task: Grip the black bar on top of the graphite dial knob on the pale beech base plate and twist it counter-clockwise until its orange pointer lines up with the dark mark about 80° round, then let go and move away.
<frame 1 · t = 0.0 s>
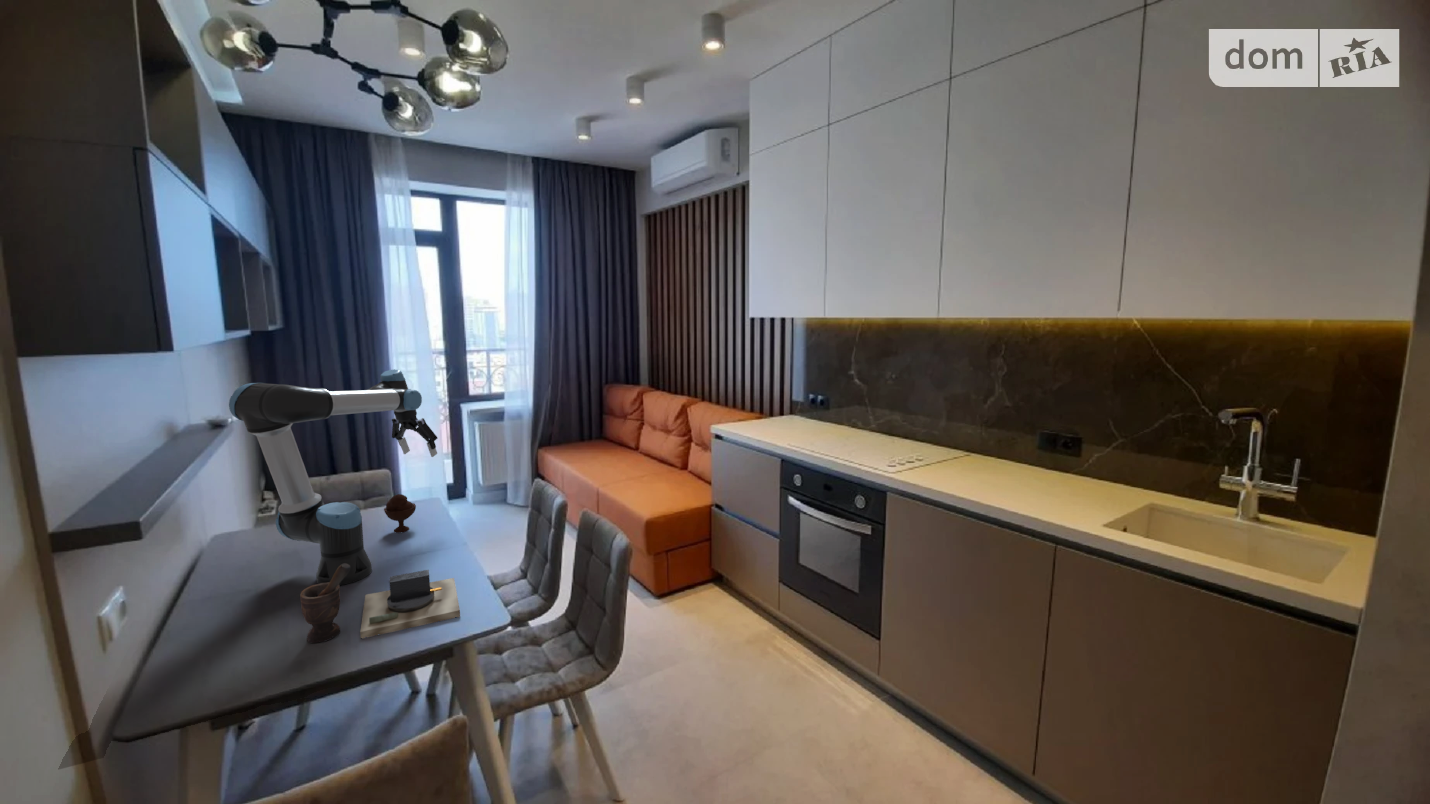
hand: (420, 453, 228), 28 cm above the table, tool tilted 20°, fingers open, 13 cm apart
base plate: (412, 608, 163), on the table
ice cream bowl: (401, 530, 220), on the table
dial knob: (414, 588, 162), point 6 cm above the table, hinge at 0.0°
mortar and pestle: (331, 635, 150), on the table
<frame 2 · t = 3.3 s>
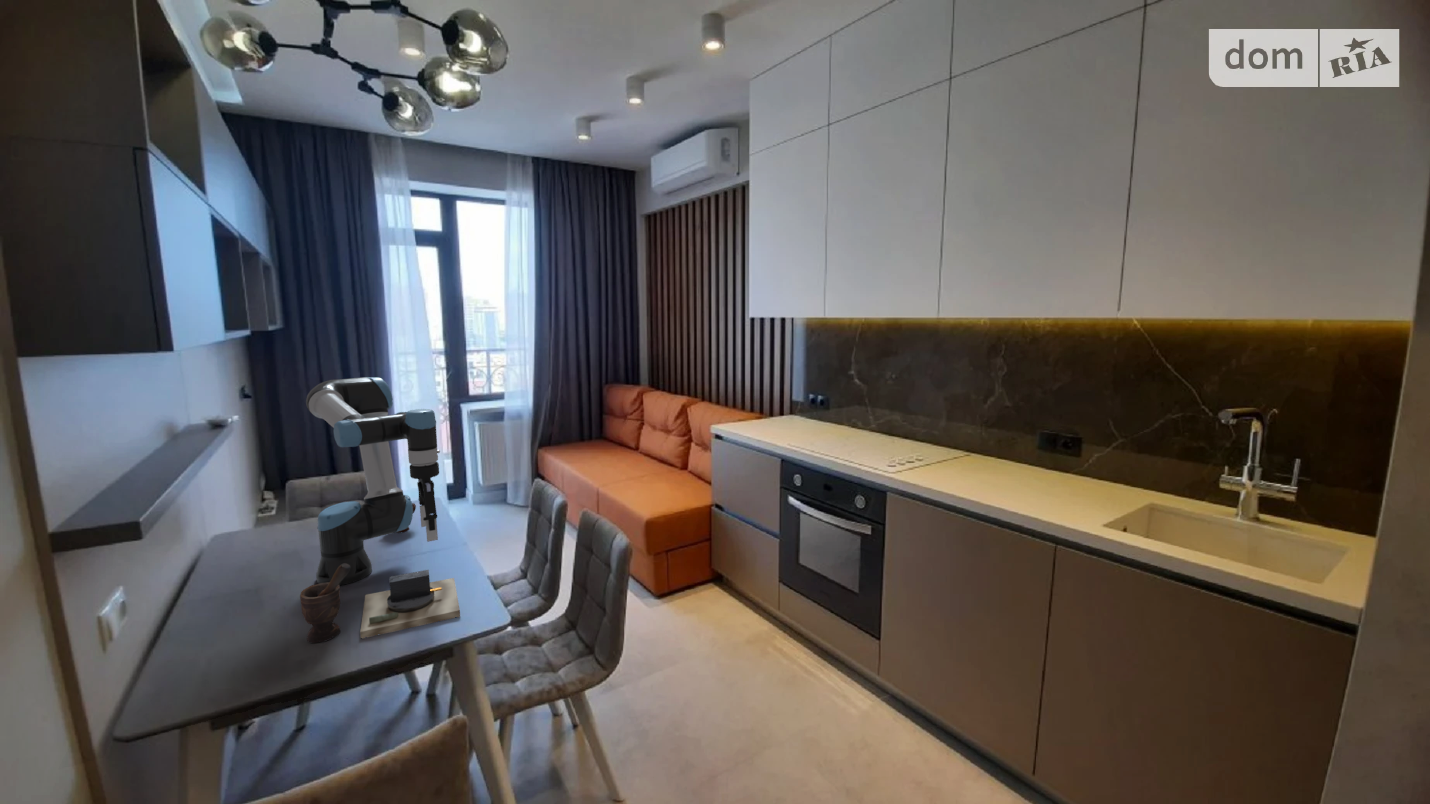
hand: (429, 533, 165), 21 cm above the table, tool pointing down, fingers open, 13 cm apart
nothing on the table moved.
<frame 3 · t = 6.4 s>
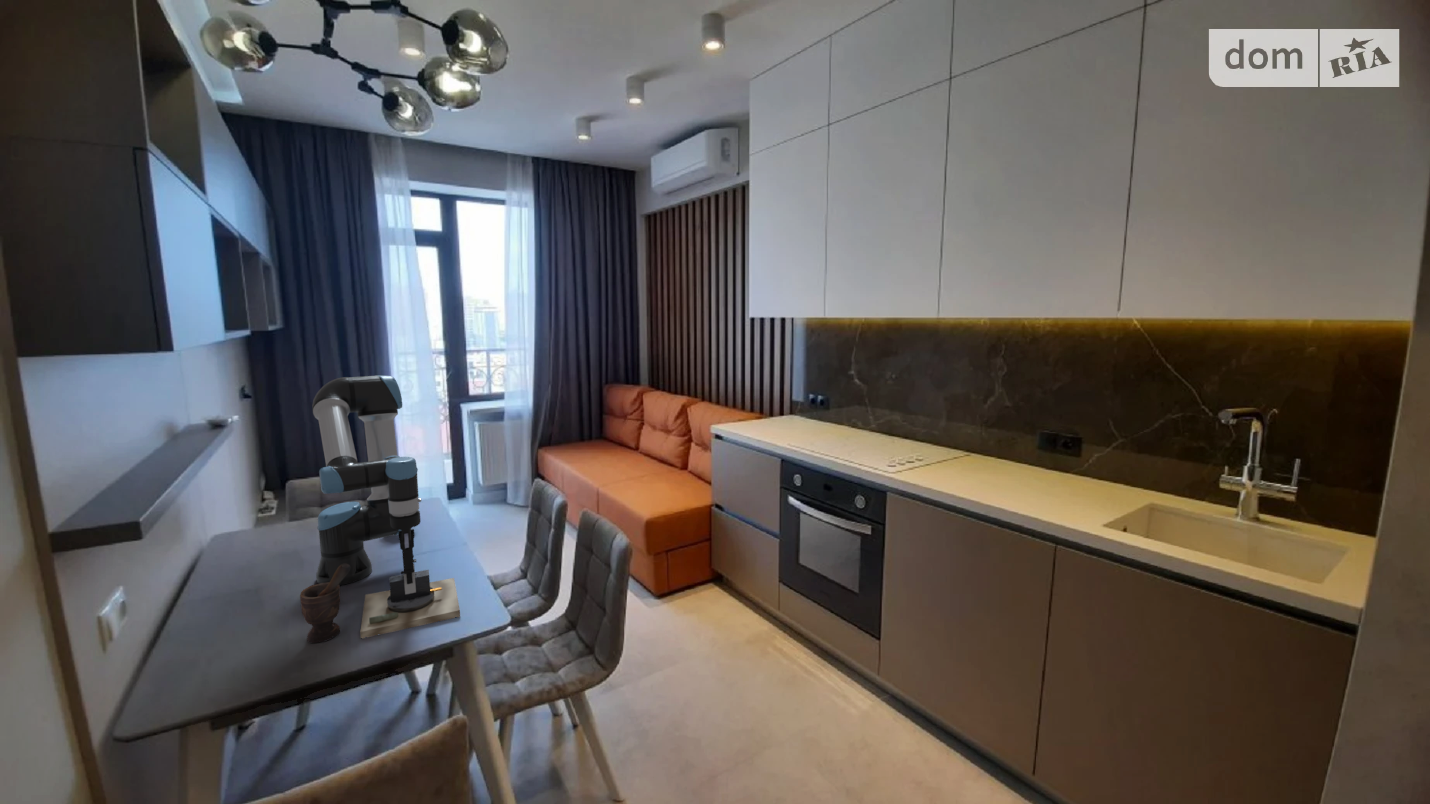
hand: (410, 589, 162), 6 cm above the table, tool pointing down, fingers closed on dial knob, 4 cm apart
dial knob: (414, 588, 162), point 6 cm above the table, hinge at 0.0°, touching gripper
everything else where it was.
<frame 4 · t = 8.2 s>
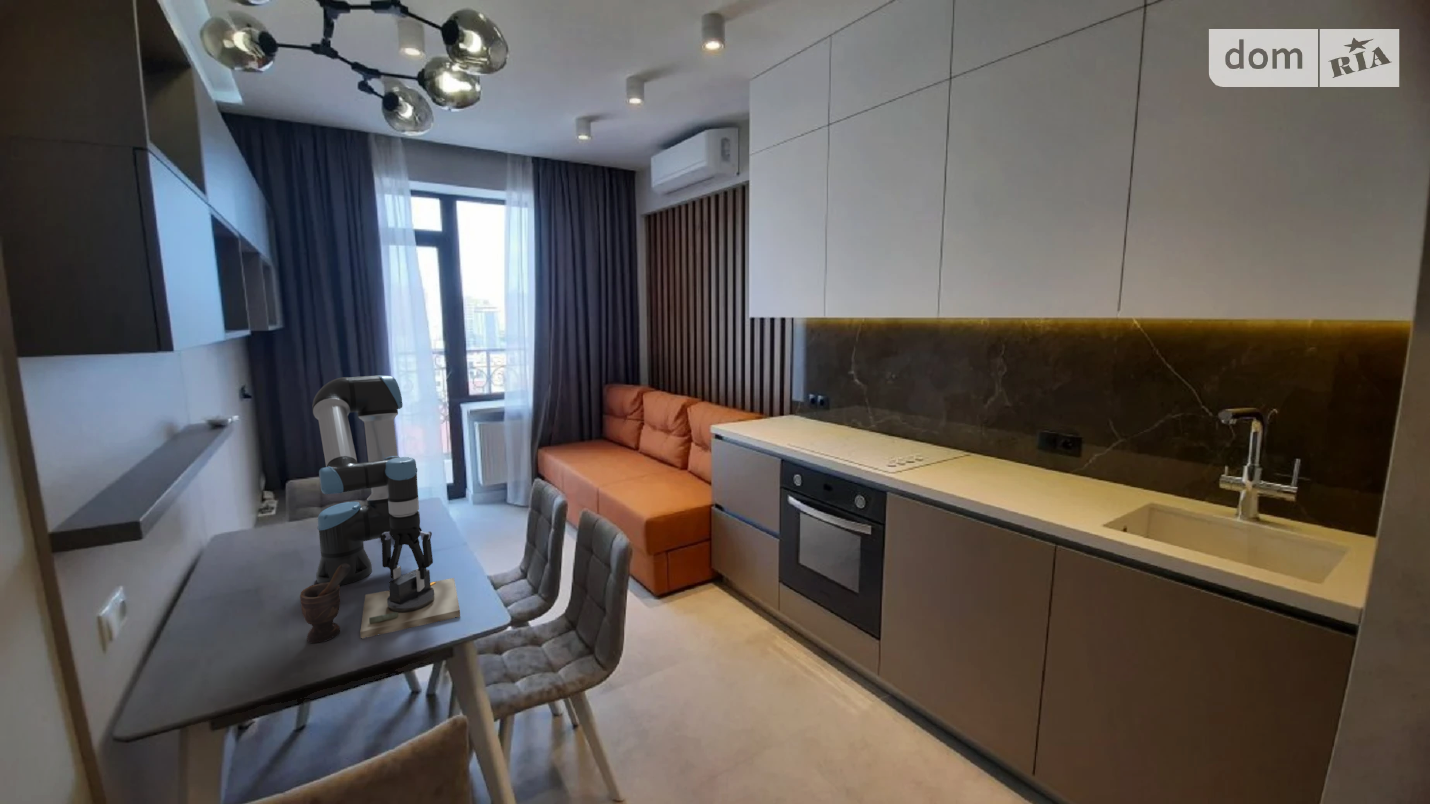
hand: (409, 589, 162), 6 cm above the table, tool pointing down, fingers closed on dial knob, 6 cm apart
dial knob: (413, 587, 163), point 6 cm above the table, hinge at 38.1°, touching gripper
everything else where it was.
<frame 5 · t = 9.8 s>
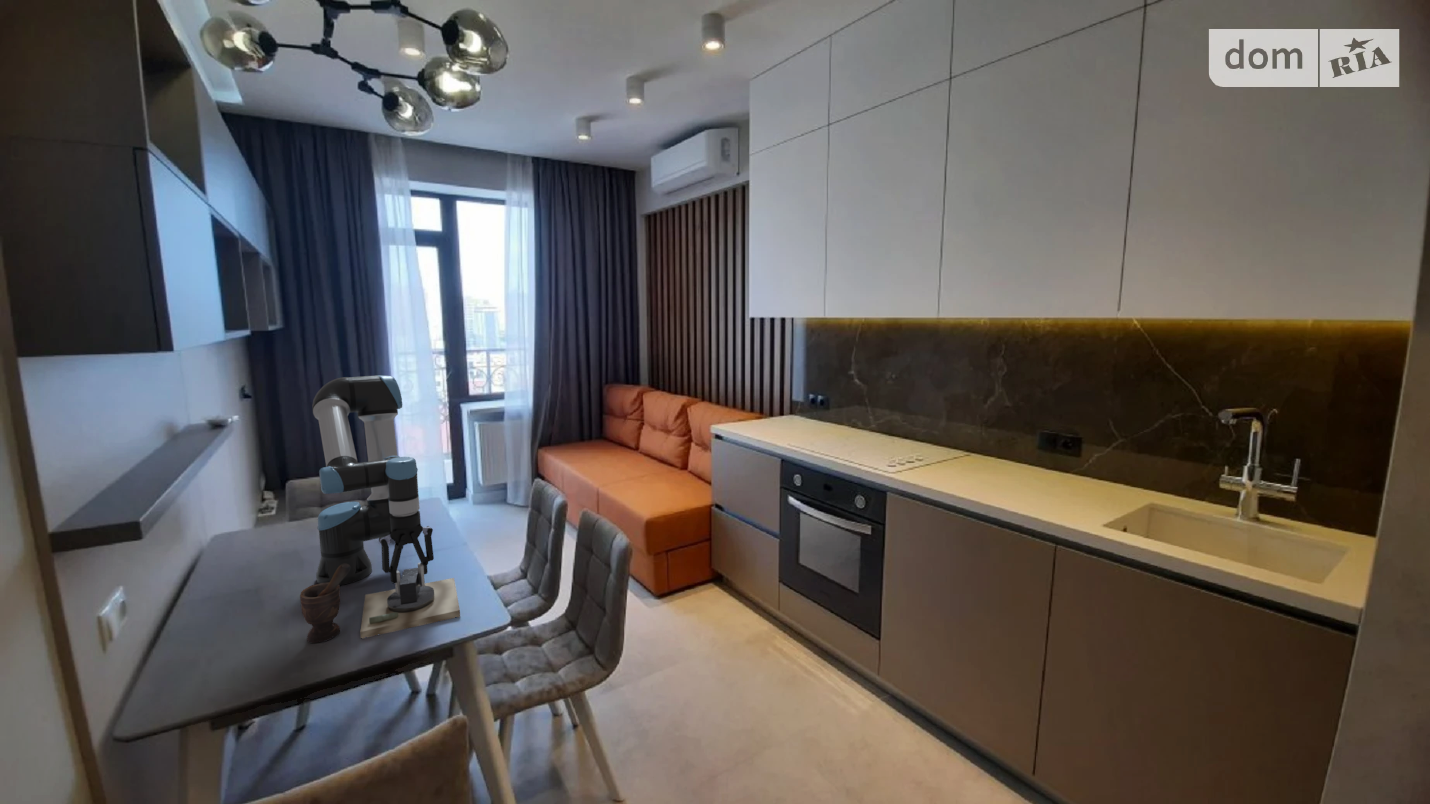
hand: (410, 588, 162), 6 cm above the table, tool pointing down, fingers closed on dial knob, 5 cm apart
dial knob: (410, 587, 163), point 6 cm above the table, hinge at 83.9°, touching gripper
everything else where it was.
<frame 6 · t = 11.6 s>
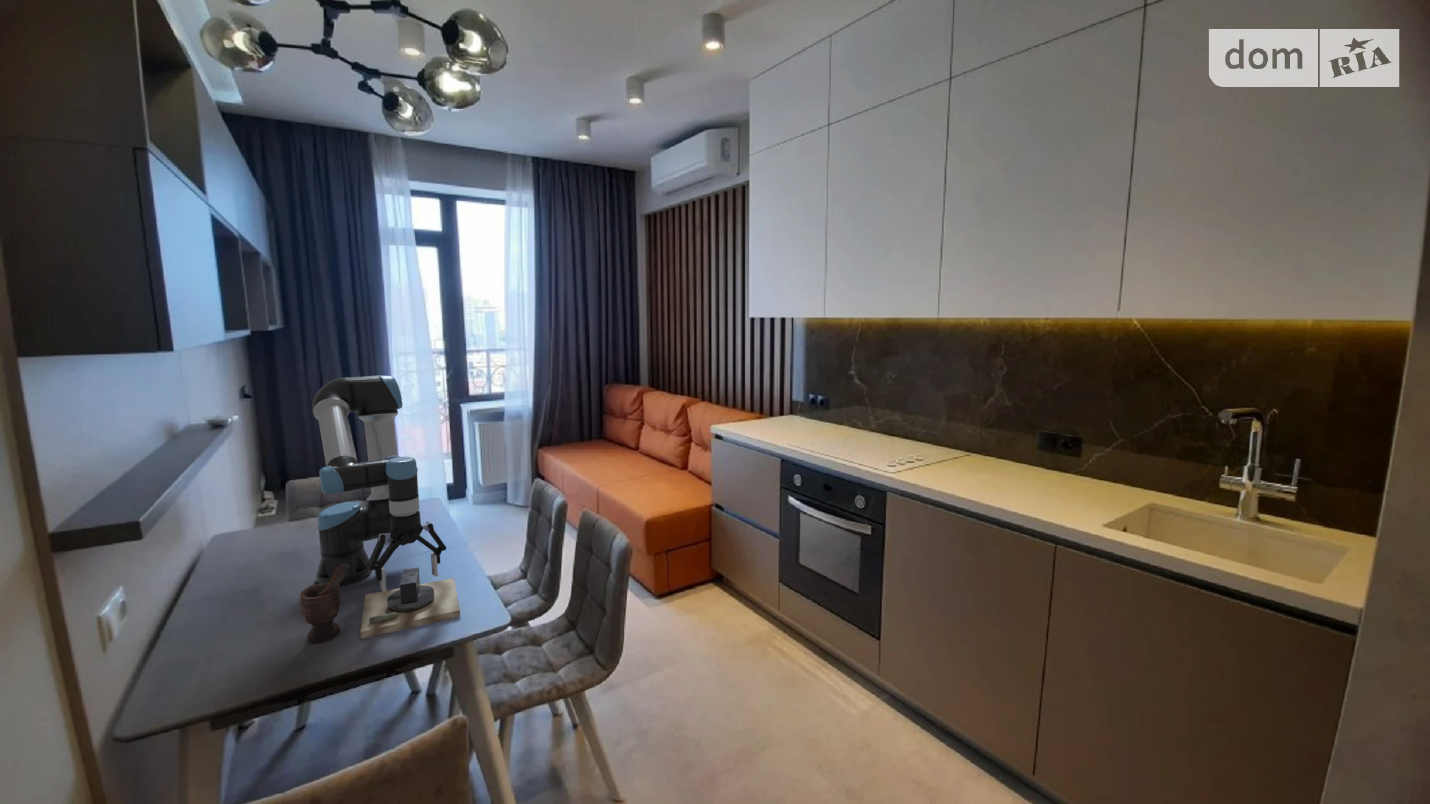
hand: (410, 582, 162), 8 cm above the table, tool pointing down, fingers open, 13 cm apart
dial knob: (410, 587, 163), point 6 cm above the table, hinge at 85.0°
everything else where it was.
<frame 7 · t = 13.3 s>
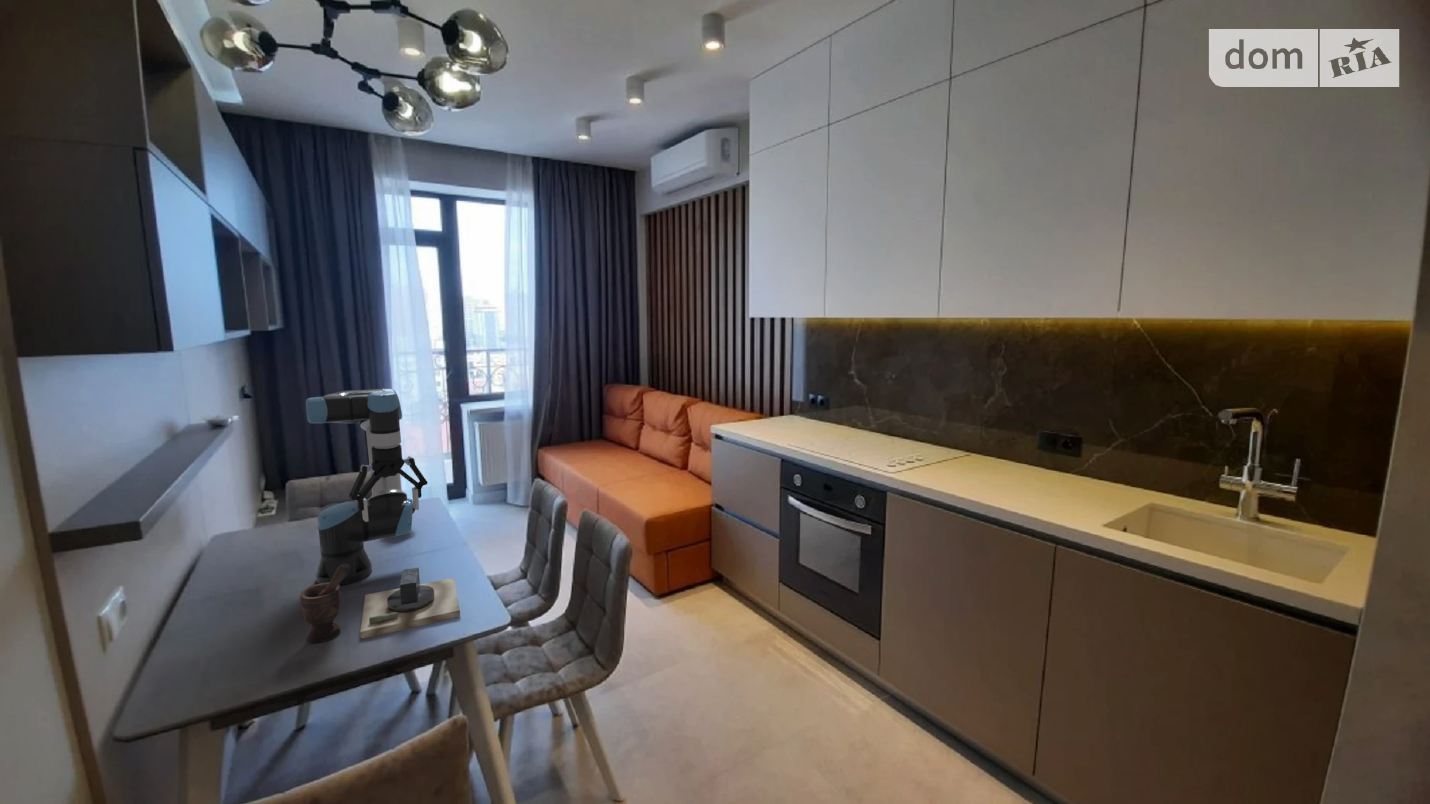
hand: (391, 514, 166), 26 cm above the table, tool pointing down, fingers open, 13 cm apart
nothing on the table moved.
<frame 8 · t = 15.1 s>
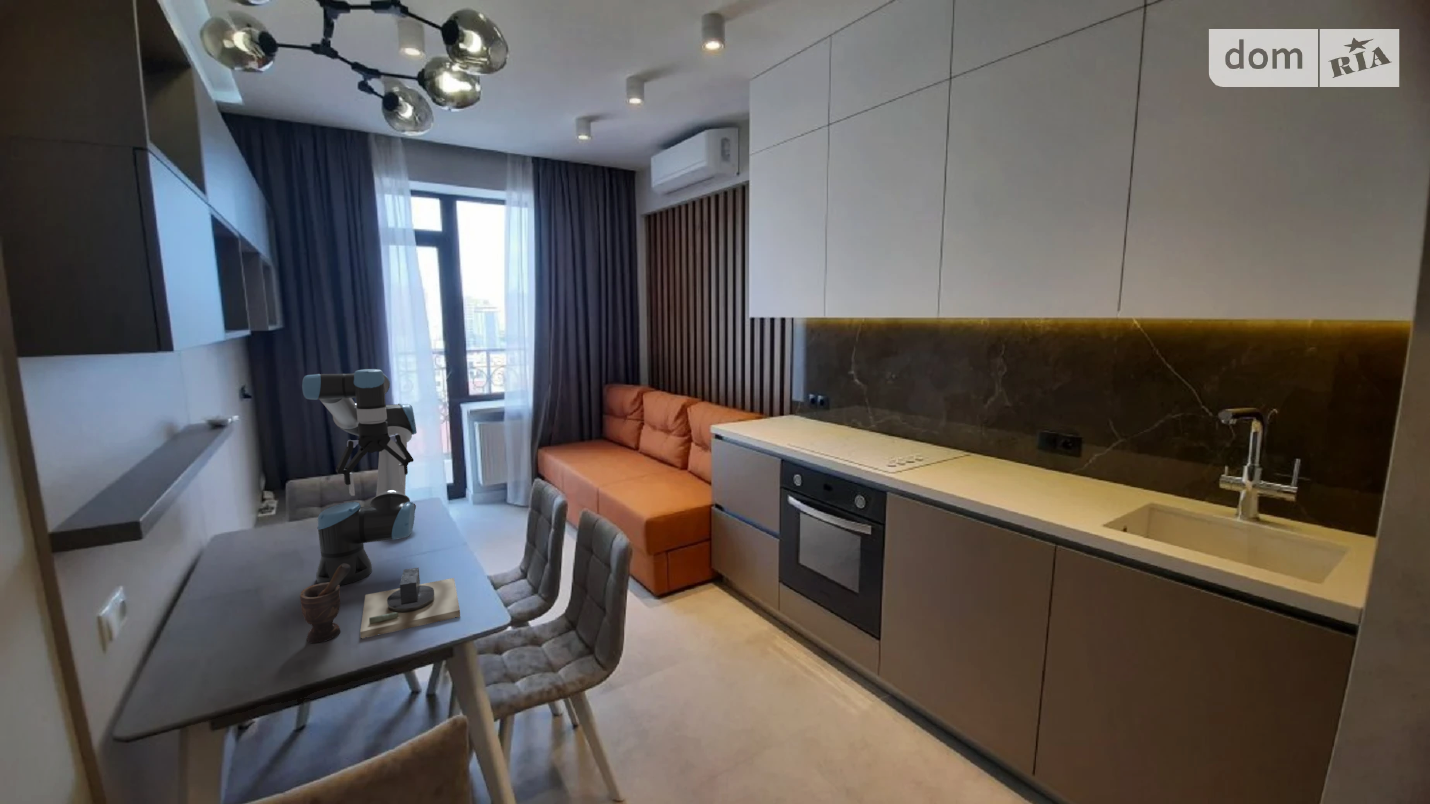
hand: (378, 489, 170), 32 cm above the table, tool pointing down, fingers open, 13 cm apart
nothing on the table moved.
at the end: dial knob at +85° (first picture: +0°); the gripper is holding nothing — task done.
